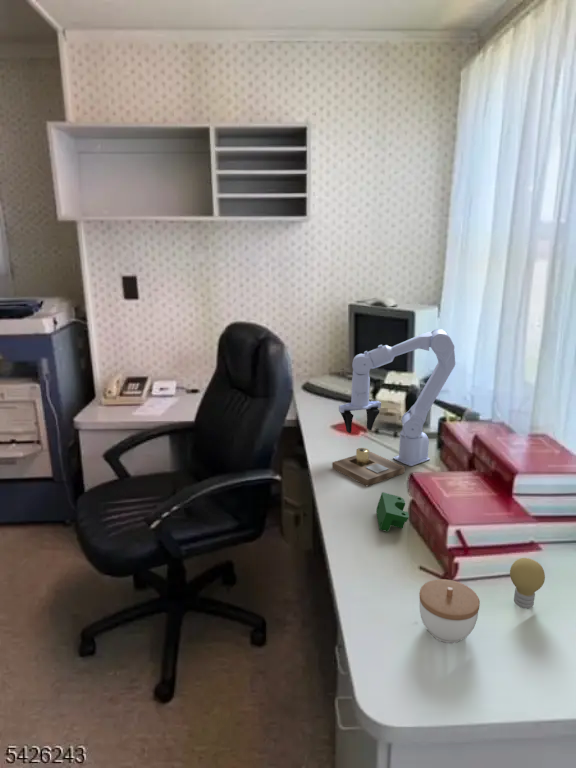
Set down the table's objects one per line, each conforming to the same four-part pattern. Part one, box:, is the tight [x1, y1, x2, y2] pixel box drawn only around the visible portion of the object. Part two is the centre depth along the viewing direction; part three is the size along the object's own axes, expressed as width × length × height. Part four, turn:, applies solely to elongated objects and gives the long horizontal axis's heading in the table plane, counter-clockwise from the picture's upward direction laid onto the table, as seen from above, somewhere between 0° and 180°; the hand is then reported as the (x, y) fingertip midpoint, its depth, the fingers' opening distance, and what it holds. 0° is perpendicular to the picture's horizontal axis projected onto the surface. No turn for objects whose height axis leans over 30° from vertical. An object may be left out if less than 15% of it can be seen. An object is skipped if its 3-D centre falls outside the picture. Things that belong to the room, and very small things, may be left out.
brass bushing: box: [355, 447, 370, 467], centre depth 176 cm, size 4×4×6 cm
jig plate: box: [331, 450, 406, 487], centre depth 174 cm, size 16×16×2 cm
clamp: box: [376, 491, 410, 532], centre depth 142 cm, size 12×6×9 cm, turn 170°
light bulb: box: [509, 557, 546, 610], centre depth 110 cm, size 6×6×10 cm
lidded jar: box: [419, 578, 481, 644], centre depth 102 cm, size 11×11×9 cm
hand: (359, 430), depth 182 cm, fingers open, 7 cm apart
